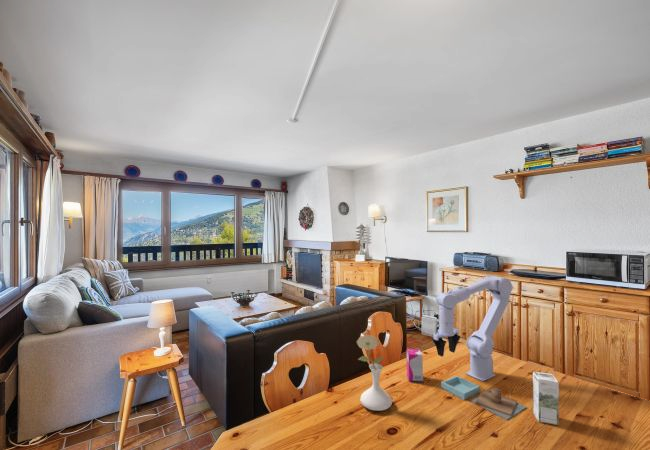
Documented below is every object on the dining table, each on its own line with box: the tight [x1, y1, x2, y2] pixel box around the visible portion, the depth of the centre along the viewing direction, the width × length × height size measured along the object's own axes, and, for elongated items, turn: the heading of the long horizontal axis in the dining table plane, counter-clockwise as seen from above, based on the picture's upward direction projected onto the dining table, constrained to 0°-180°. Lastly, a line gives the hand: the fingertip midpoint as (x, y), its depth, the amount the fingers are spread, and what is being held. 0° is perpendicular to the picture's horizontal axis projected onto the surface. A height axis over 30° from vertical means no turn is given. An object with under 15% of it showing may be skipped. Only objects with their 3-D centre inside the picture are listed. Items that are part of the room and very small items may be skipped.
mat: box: [470, 389, 528, 421], centre depth 109 cm, size 13×13×1 cm
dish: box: [440, 375, 481, 401], centre depth 118 cm, size 10×10×2 cm
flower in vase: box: [356, 334, 393, 412], centre depth 110 cm, size 13×11×25 cm
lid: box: [475, 387, 518, 416], centre depth 109 cm, size 11×11×5 cm
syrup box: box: [532, 371, 560, 426], centre depth 101 cm, size 6×6×14 cm
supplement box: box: [406, 348, 424, 383], centre depth 128 cm, size 6×6×12 cm
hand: (446, 353), depth 128 cm, fingers open, 7 cm apart
